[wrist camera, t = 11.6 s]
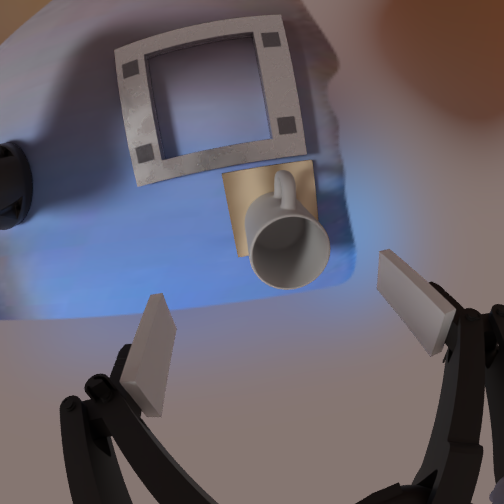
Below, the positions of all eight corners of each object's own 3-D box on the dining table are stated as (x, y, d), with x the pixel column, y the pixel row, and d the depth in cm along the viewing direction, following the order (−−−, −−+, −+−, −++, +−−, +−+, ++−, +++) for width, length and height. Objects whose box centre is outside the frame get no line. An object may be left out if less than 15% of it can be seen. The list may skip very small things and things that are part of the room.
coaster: (238, 255, 40) (238, 257, 39) (221, 173, 35) (221, 173, 34) (318, 241, 40) (319, 242, 39) (310, 159, 35) (312, 160, 34)
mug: (304, 249, 39) (327, 288, 29) (245, 251, 39) (249, 293, 29) (307, 165, 34) (337, 177, 24) (242, 165, 34) (246, 177, 24)
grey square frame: (142, 184, 34) (137, 186, 32) (119, 53, 26) (113, 49, 24) (302, 153, 34) (306, 154, 32) (278, 20, 26) (281, 14, 24)
